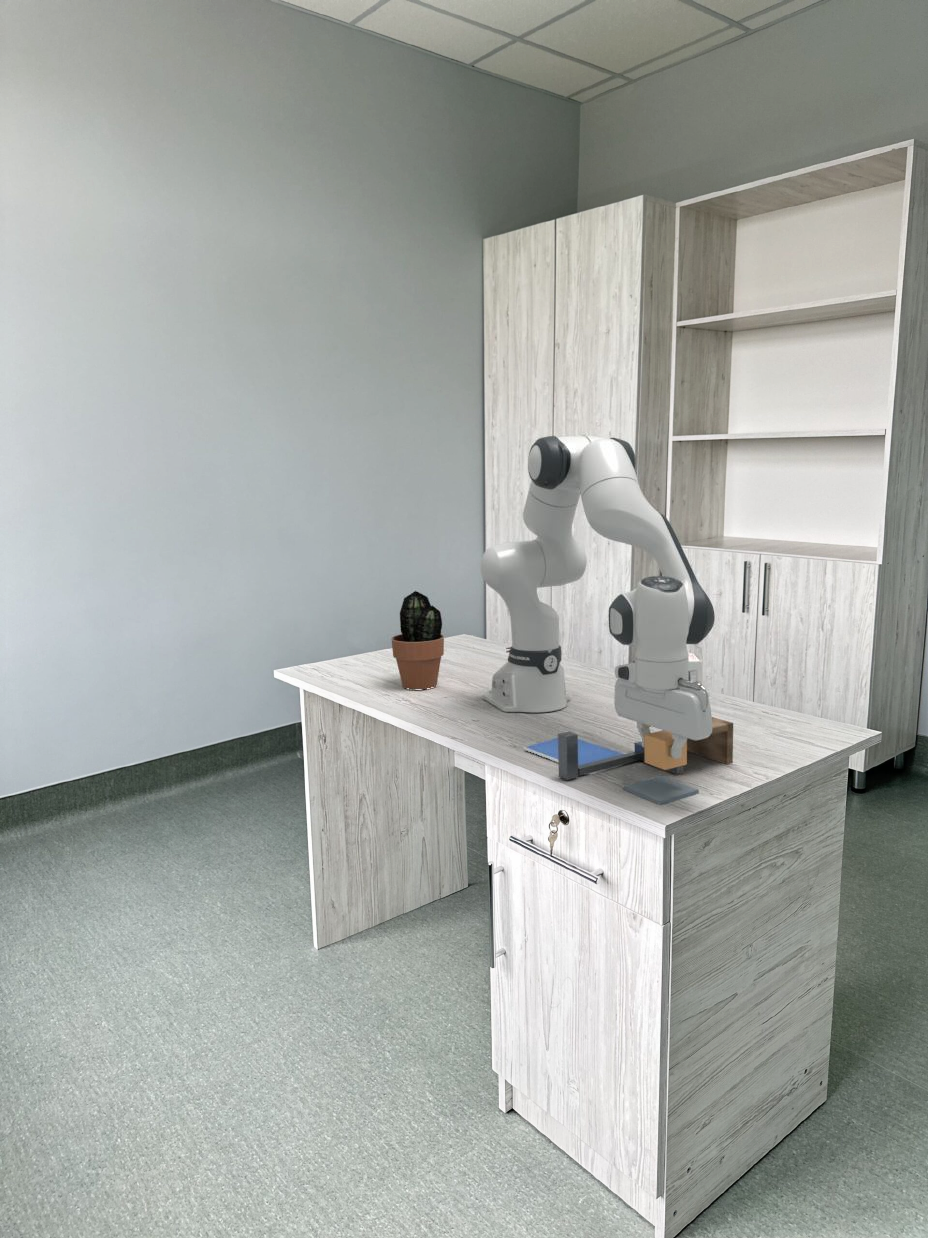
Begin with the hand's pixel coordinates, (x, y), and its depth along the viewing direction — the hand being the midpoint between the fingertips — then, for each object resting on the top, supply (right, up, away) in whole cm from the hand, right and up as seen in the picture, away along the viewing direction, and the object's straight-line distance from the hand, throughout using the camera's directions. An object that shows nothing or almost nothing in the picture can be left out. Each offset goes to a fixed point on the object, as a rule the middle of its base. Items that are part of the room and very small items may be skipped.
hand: (661, 752), depth 154 cm
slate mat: (0, -7, +1) cm, 7 cm away
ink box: (+18, +2, +54) cm, 57 cm away
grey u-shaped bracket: (-5, -5, +9) cm, 12 cm away
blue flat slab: (-11, -5, +22) cm, 25 cm away
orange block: (+1, -2, +1) cm, 2 cm away
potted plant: (-45, +5, +81) cm, 93 cm away
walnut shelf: (+9, -4, +17) cm, 20 cm away
